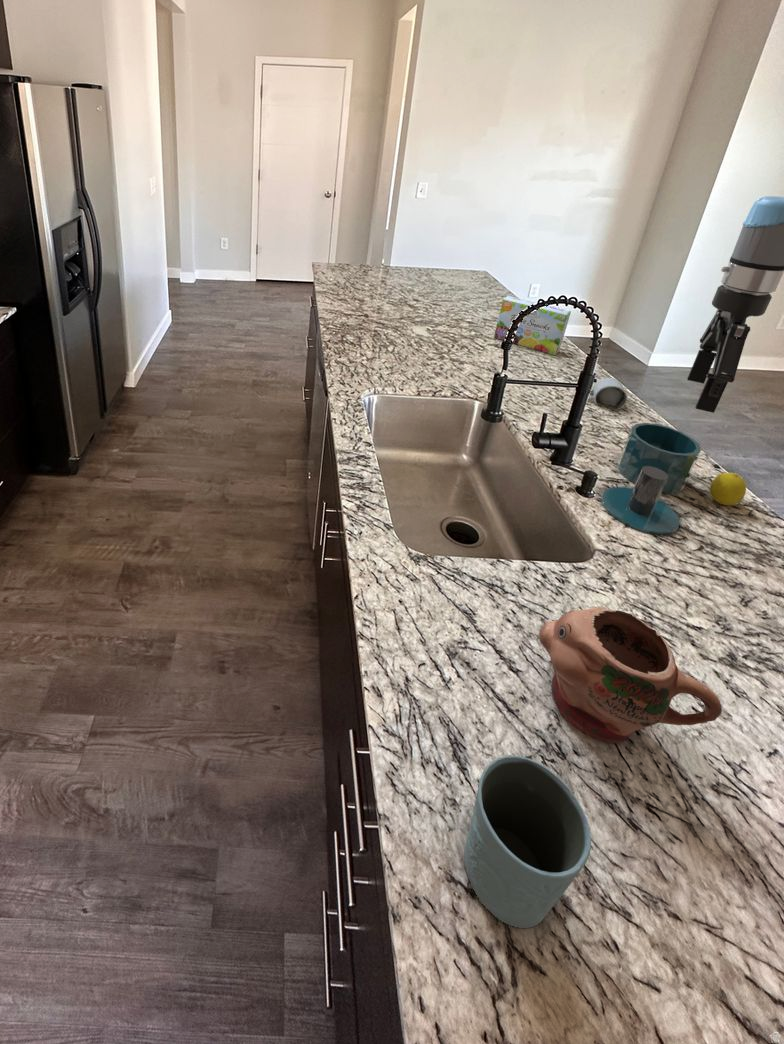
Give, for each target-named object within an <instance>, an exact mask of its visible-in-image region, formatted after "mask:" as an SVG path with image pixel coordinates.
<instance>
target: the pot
mask: <svg viewBox="0 0 784 1044" xmlns="http://www.w3.org/2000/svg"><path fill="white" fill-rule="evenodd" d="M701 451H702V449H701V445H700V444H699V442H698V441H697V440H695V439H694V438H693V437H691V436H690V435H688V434H687V433H685V432H683V431H681V430H678V429H676V428H673V427H670V426H667V425H663V424H659V423H653V422H641V423H635V424H634V425H633V426H631V428H630V430H629V433H628V435H627V438H626V441H625V442H624V446H623V448H622V451H621V453H620V456H619V458H618V462H617V471H619V473H620V474H621V475H622V477H624V478H625V479H626V480H627V481H629V482H630V483H632V484H634V485H635V484H636V482H637V479H638V477H639V474H640V472H641V470H642V468H643V467H644V466H651V467H655V468H658V469H660V470H662V471H664V472H665V473H666V474H667V475H668V479H667V482H666V484H665V486H664V488H663V491H662V493H661V494H667V495H673V494H678V493H681V492H682V491H683V489H684V488H685V486H686V484H687V482H688V480H689V477H690V475H691V473H692V471H693V469H694V467H695V465H696V462H697V460H698V458H699V456H700V454H701Z"/></svg>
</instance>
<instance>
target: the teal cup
mask: <svg viewBox="0 0 784 1044" xmlns="http://www.w3.org/2000/svg"><path fill="white" fill-rule="evenodd" d="M591 836H592V834H591V829H590V825H589V822H588V818H587V816H586V813H585V811H584V809H583V807H582V805H581V804H580V801H579V800H578V798H577V797H576V795H575V794H574V792H573V791H572V790H571V789H570V788H569V786H568V785H567V784H566V783H565V782H564V780H562V779H561V777H559V776H558V775H557V774H556V773H555V772H553V771H552V770H550V769H549V768H548V767H546V766H545V765H543V764H542V763H540V762H537V761H536V760H533V759H532V758H529V757H525V756H521V755H508V754H507V755H504V756H500V757H497V758H496V759H493V760H492V761H491V762H490V763H489V764H487V766H486V767H485V768H484V769H483V771H482V773H481V775H480V777H479V781H478V785H477V791H476V796H475V803H474V806H473V813H472V817H471V825H470V828H469V831H468V833H467V835H466V840H465V845H464V851H463V857H464V858H463V859H464V861H463V862H464V867H465V871H466V875H467V877H468V878H467V879H468V881H469V883H470V885H471V888H472V890H474V891H475V892H474V891H473V892H474V893H475V896H476V895H477V896H476V898H477V899H478V898H479V899H478V901H479V900H480V901H481V902H480V901H479V902H480V904H481V905H482V904H483V905H484V906H485V907H486V908H485V907H484V906H483V905H482V906H483V907H484V908H485V910H487V909H488V910H489V911H490V912H491V913H492V914H493V915H494V916H495V917H494V916H493V915H492V914H491V913H490V912H489V911H488V910H487V911H488V912H489V913H490V914H491V915H492V916H493V917H494V918H496V917H497V918H498V919H499V920H498V919H497V918H496V919H497V920H498V921H500V920H501V921H503V922H504V923H503V922H502V923H503V924H505V923H506V924H505V925H507V924H509V925H508V926H510V925H511V926H510V927H512V926H514V927H513V928H517V927H519V928H518V929H528V928H533V927H535V926H537V925H539V924H540V923H541V922H542V921H544V919H545V917H546V916H547V915H548V914H549V912H550V911H551V909H553V908H554V906H555V905H556V904H557V903H558V901H559V899H560V898H561V897H562V896H563V895H564V893H565V892H566V891H567V889H569V887H570V885H572V883H573V881H574V880H575V879H576V877H578V875H579V873H580V872H581V871H582V870H583V869H584V867H585V865H586V863H588V860H589V859H590V855H591V851H592V837H591ZM501 921H500V922H501Z"/></svg>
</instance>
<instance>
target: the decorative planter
mask: <svg viewBox="0 0 784 1044" xmlns="http://www.w3.org/2000/svg"><path fill="white" fill-rule="evenodd" d="M538 639H539V642H540V645H542V647H543V648H544V649H545V650H546V652H547V654H548V655H549V658H550V662H551V666H552V669H553V671H554V674H553V676H552V679H551V684H550V685H551V686H550V689H551V690H550V691H551V696H552V699H553V702H554V704H555V706H556V708H557V709H558V710H559V712H560V713H561V714H562V716H563V717H564V718H565V719H566V720H567V722H569V723H570V724H571V725H572V726H573V727H575V728H576V729H577V730H579V731H581V732H582V733H583V734H585V735H587V736H589V737H591V738H594V739H596V740H599V741H602V742H605V743H607V744H619V743H622V742H625V741H627V740H628V739H629V738H630V736H632V734H634V732H637V731H640V730H643V729H645V728H646V729H647V728H650V727H652V726H655V725H657V724H663V725H664V724H665V725H672V726H694V725H698V724H706V723H708V722H715V721H716V720H717V719H718V718H719V717H720V716H721V715H722V712H723V708H722V703H721V700H720V699H719V697H718V695H717V694H716V693H715V692H714V691H713V690H712V689H711V688H709V687H708V686H707V685H705V684H704V683H703V682H701V681H699V680H697V679H695V678H694V677H692V676H690V675H689V674H687V673H685V672H683V671H682V670H681V669H679V667H678V666H677V664H676V660H675V655H674V652H673V650H672V648H671V647H670V644H669V643H668V642H667V641H666V639H665V638H664V637H663V636H662V635H661V634H660V633H659V632H658V631H657V630H656V629H655V628H653V627H651V626H650V625H649V624H648V623H646V622H644V621H643V620H642V619H640V618H638V617H636V616H635V615H633V614H632V613H628V612H625V611H621V610H616V609H611V608H606V607H603V606H595V607H591V608H587V609H573V610H572V609H571V610H570V611H567V612H565V613H563V614H562V615H560V617H559V618H558V619H555V620H550V621H547V622H545V623H544V624H543V625H542V626H541V628H540V630H539V633H538ZM679 694H687V695H691V696H693V697H695V698H697V699H698V700H700V701H701V702H702V704H703V705H704V708H705V709H704V710H703V711H700V712H696V713H688V714H683V713H680V712H678V711H677V710H675V709H673V708H672V707H671V706H670V705H671V702H672V699H673V698H675V697H676V696H677V695H679Z"/></svg>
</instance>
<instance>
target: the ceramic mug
mask: <svg viewBox="0 0 784 1044" xmlns="http://www.w3.org/2000/svg"><path fill="white" fill-rule="evenodd" d="M590 395H593V396H588V397H589V399H588V401H587V402H589V403H595V406H599V403H602V404H604V405H607V406H611V407H616V410H621V409H623V408H624V407H625V406H626V405H627V402H628V394H627V391H626V390H625V388H624V386H623V384H622V383H621V382H620V381H619V380H618V379H616V378H613V377H603V378H600V379H598V380H597V381H596V382H595V384H594V385H593V388H592V391H591V394H590ZM598 402H599V403H598Z"/></svg>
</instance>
